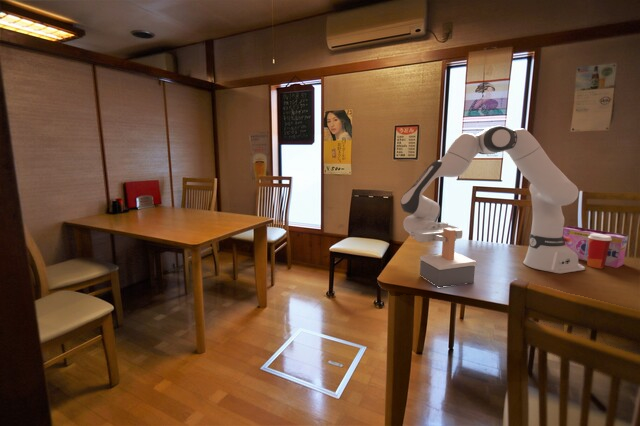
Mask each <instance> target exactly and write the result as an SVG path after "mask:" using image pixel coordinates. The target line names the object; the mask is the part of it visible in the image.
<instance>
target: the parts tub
mask: <svg viewBox="0 0 640 426" xmlns="http://www.w3.org/2000/svg"><path fill="white" fill-rule="evenodd" d="M419 268H420V269H419V276H420V275H421V276H423V277H424V278H426V279H427V280H429V281H430V282H432V283H433V284H435V285H436V286H438V287H443V286H451V285H457V286H460V285H459V284H464V285H466V284H465V283H471V284H474V283H475V270H476V265H473V266H465V267H458V268H451V269H444V270H439V269H437V268H435V267H433V266H431V265H430V264H428V263H426V262H424V261H422V260H421V259H420V266H419ZM451 287H452V286H451Z"/></svg>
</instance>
